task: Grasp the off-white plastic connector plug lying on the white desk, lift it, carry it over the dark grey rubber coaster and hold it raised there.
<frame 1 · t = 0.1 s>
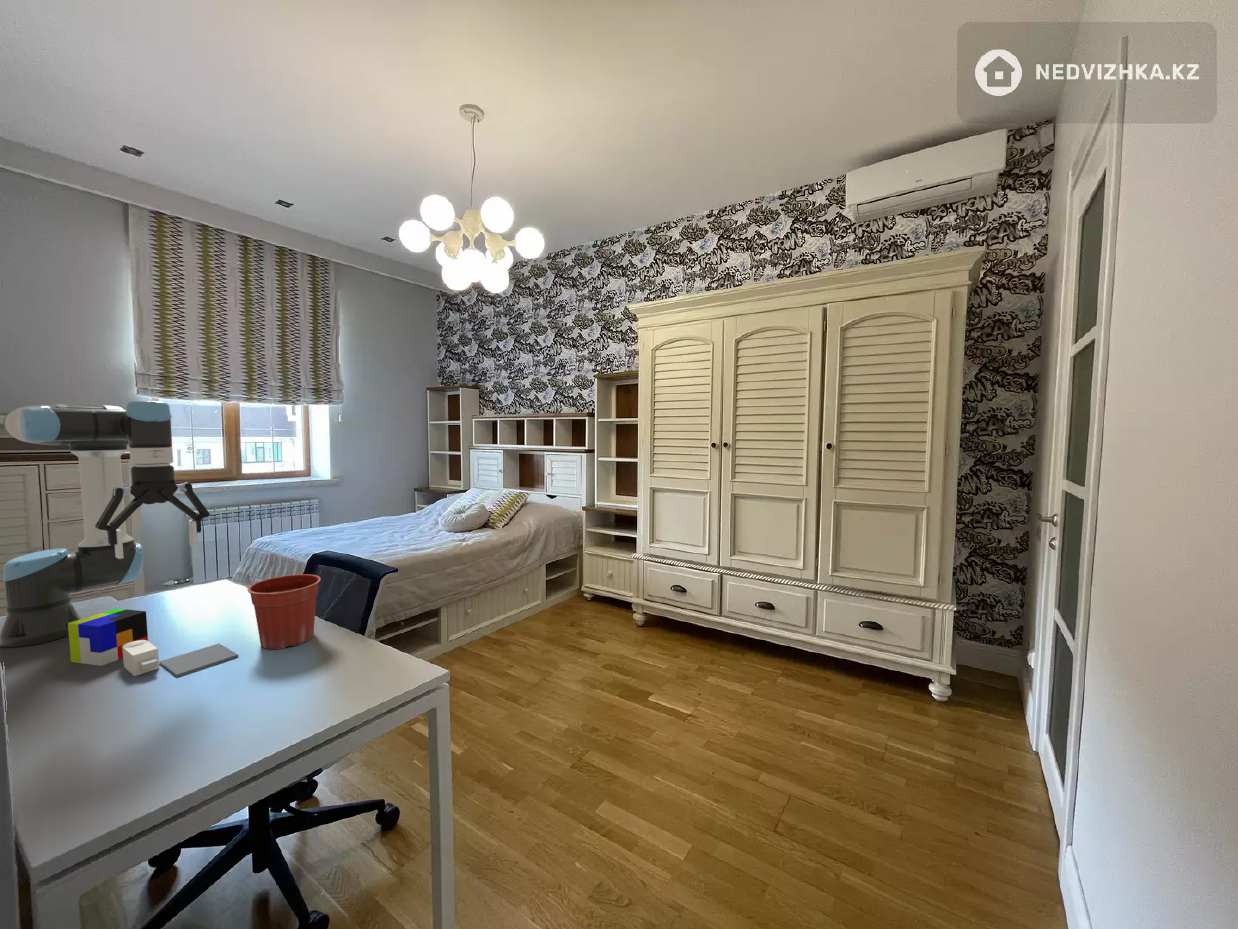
hand: (158, 551, 119), 28 cm above the table, fingers open, 13 cm apart
coaster: (199, 660, 122), on the table
flower pot: (288, 641, 134), on the table
connector: (141, 667, 118), on the table
puzzle toy: (111, 655, 125), on the table
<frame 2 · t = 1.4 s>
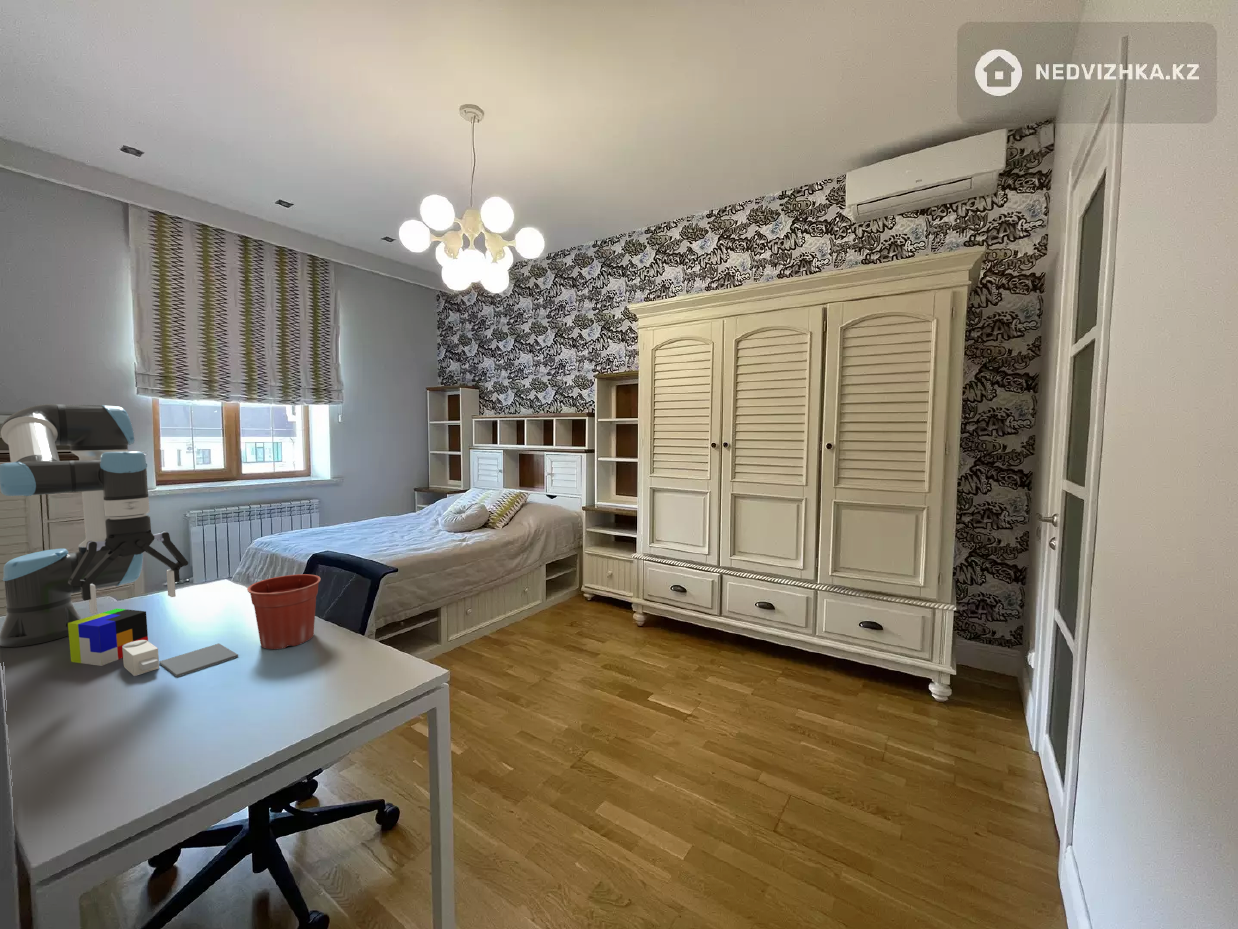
hand: (134, 604, 117), 16 cm above the table, fingers open, 13 cm apart
nothing on the table moved.
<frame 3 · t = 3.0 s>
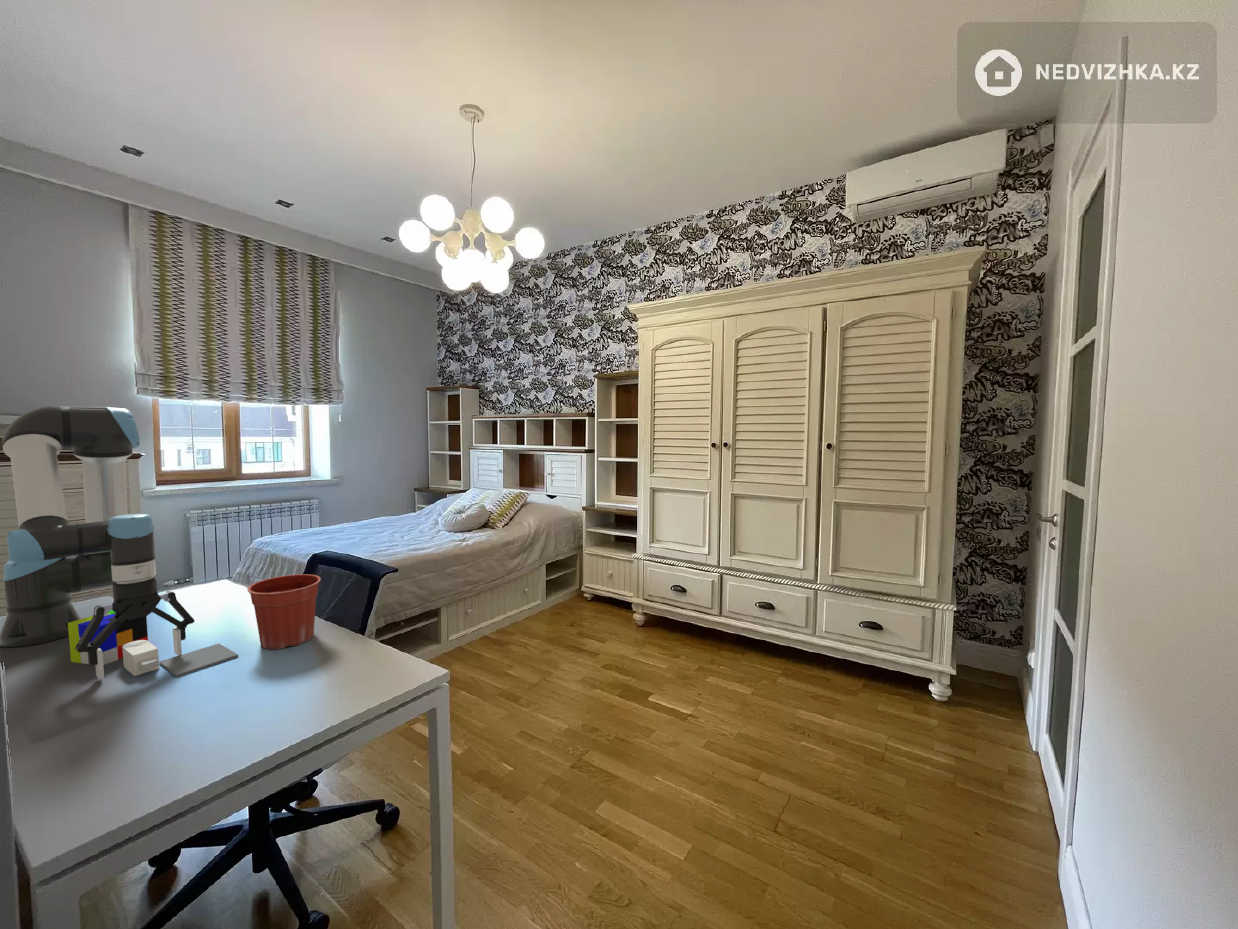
hand: (141, 665, 118), 1 cm above the table, fingers open, 13 cm apart
nothing on the table moved.
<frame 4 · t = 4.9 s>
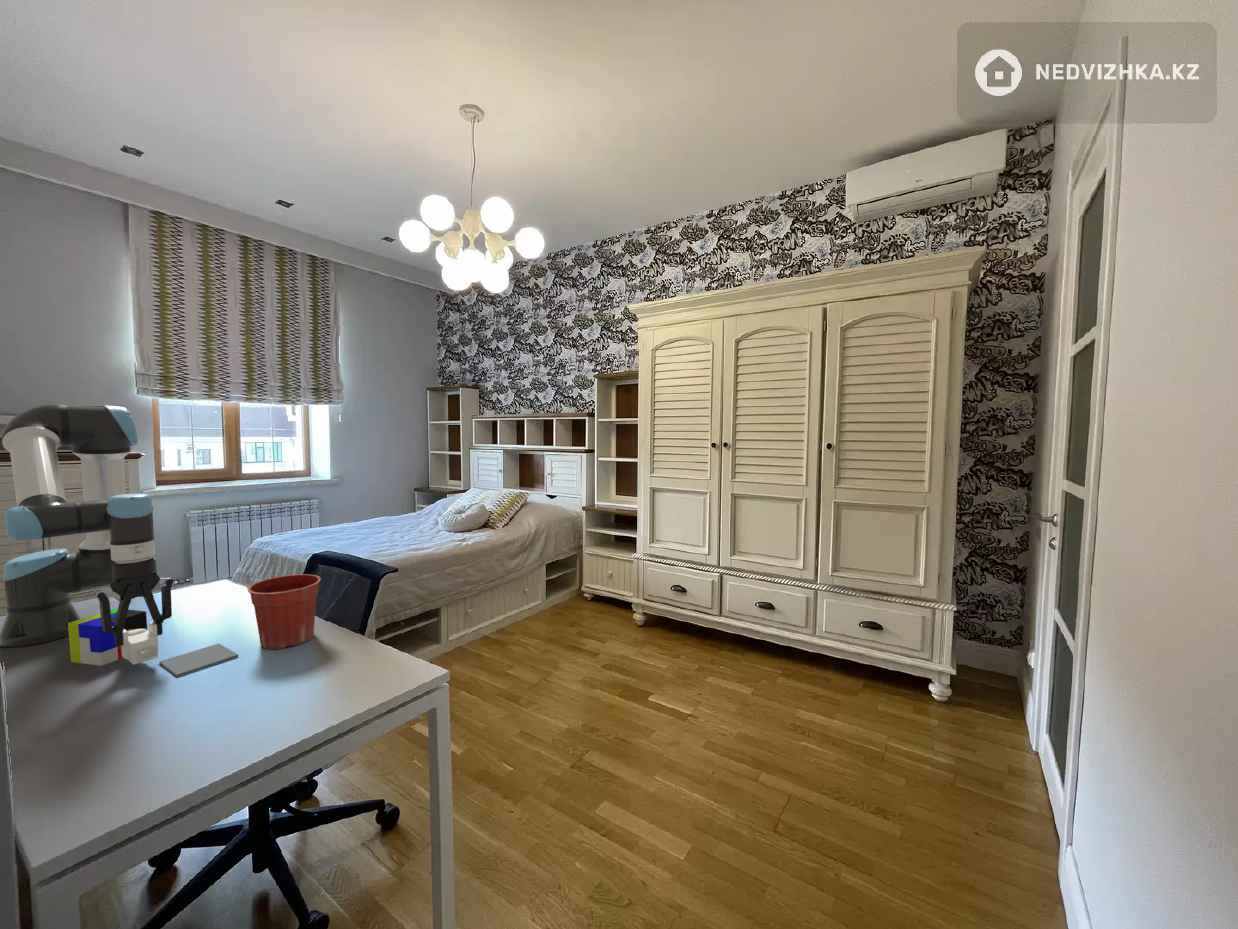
hand: (140, 652, 118), 4 cm above the table, fingers closed on connector, 4 cm apart
connector: (140, 656, 118), point 3 cm above the table, touching gripper
everything else where it was.
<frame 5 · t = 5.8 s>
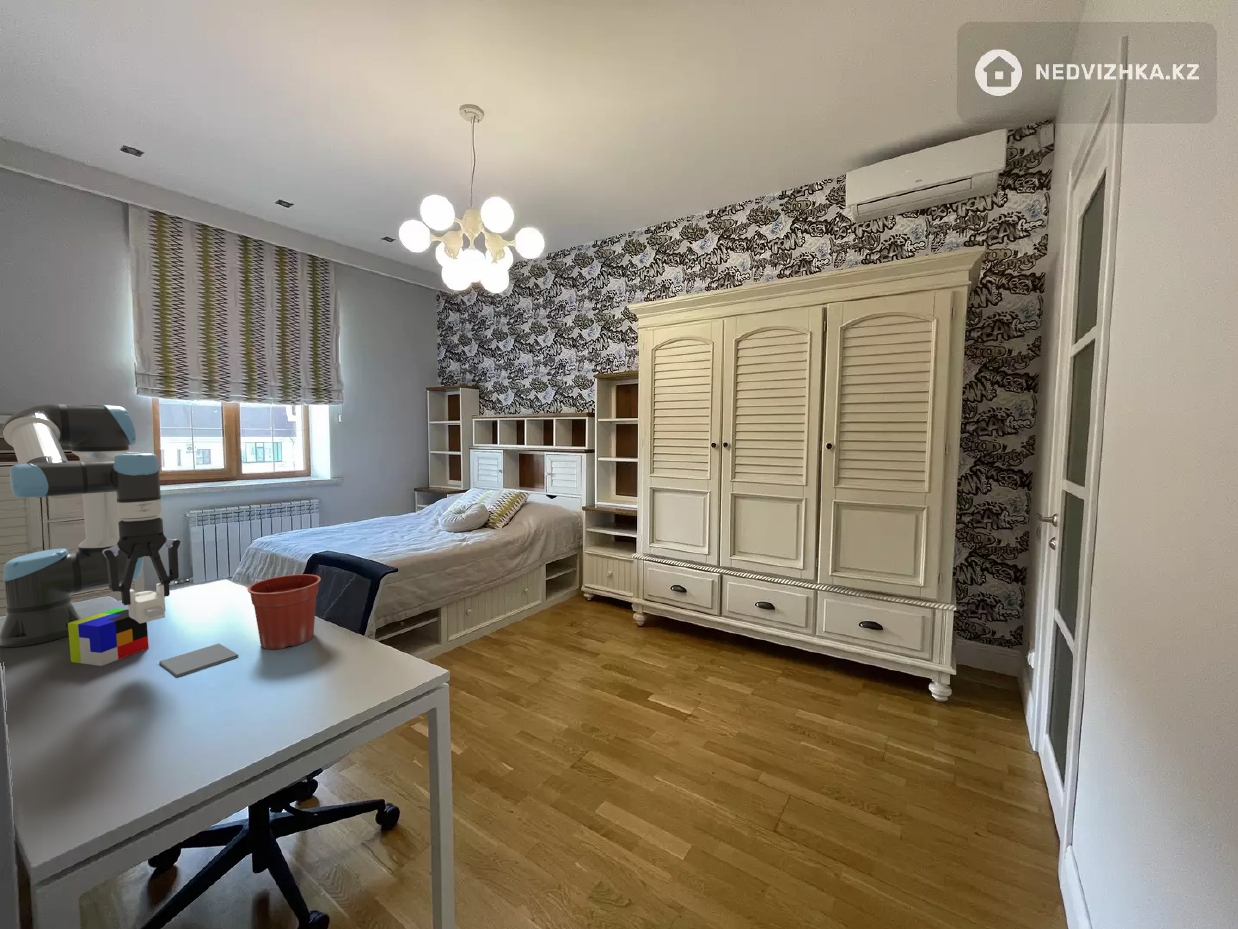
hand: (147, 613, 117), 13 cm above the table, fingers closed on connector, 4 cm apart
connector: (147, 617, 117), point 12 cm above the table, touching gripper
everything else where it was.
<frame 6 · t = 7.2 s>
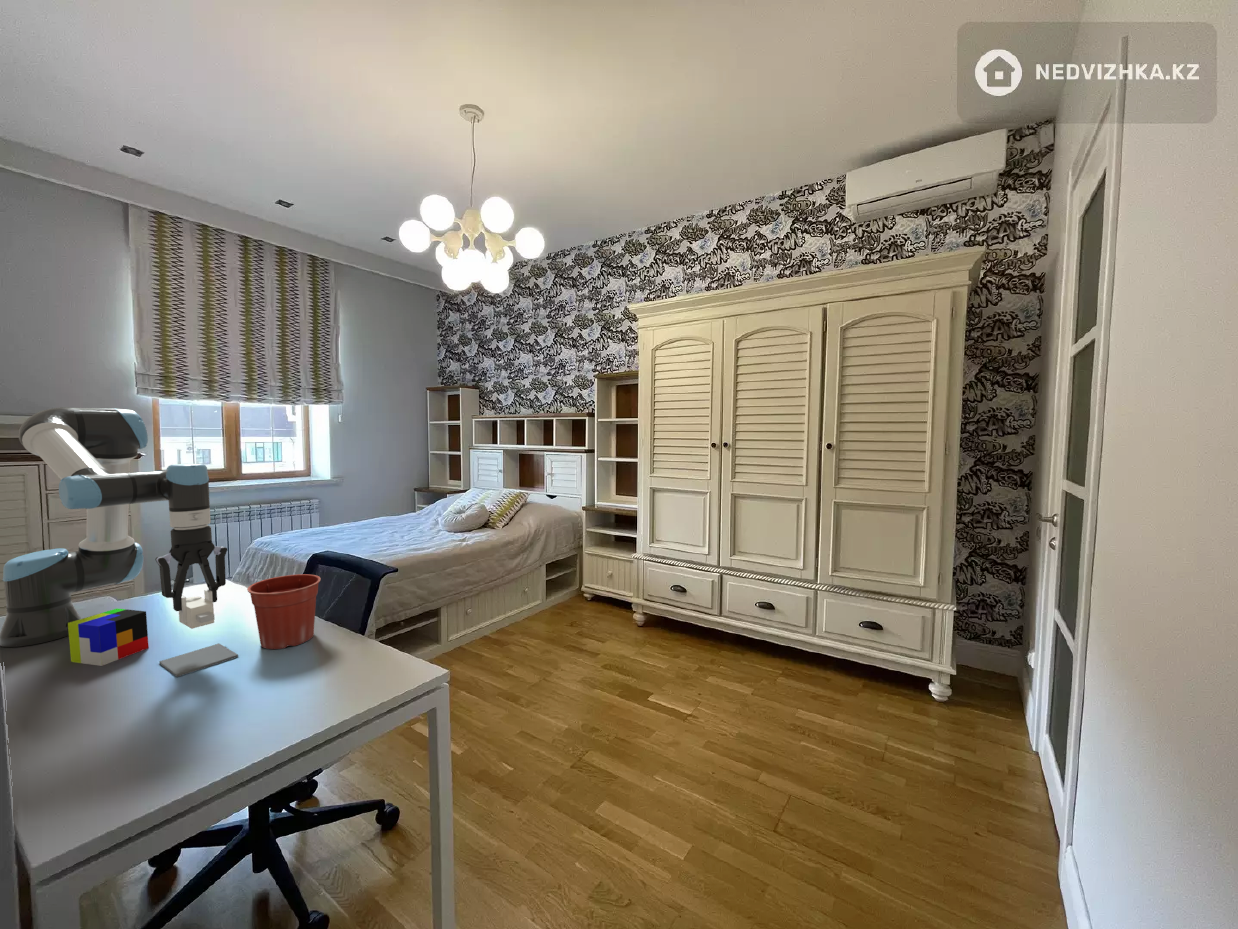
hand: (196, 618, 121), 11 cm above the table, fingers closed on connector, 4 cm apart
connector: (197, 622, 121), point 10 cm above the table, touching gripper
everything else where it was.
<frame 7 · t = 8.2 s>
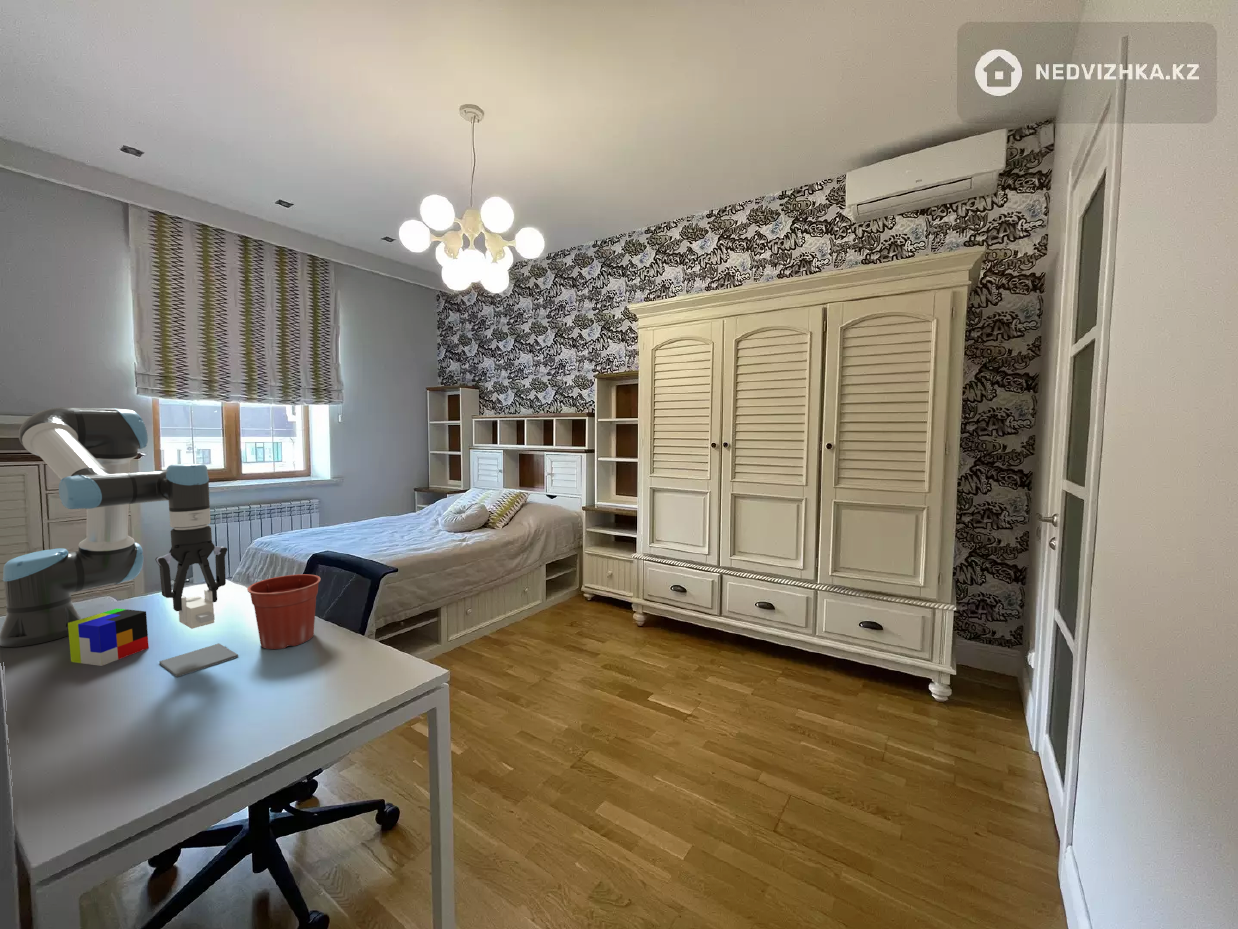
hand: (196, 618, 121), 11 cm above the table, fingers closed on connector, 4 cm apart
connector: (197, 622, 121), point 10 cm above the table, touching gripper
everything else where it was.
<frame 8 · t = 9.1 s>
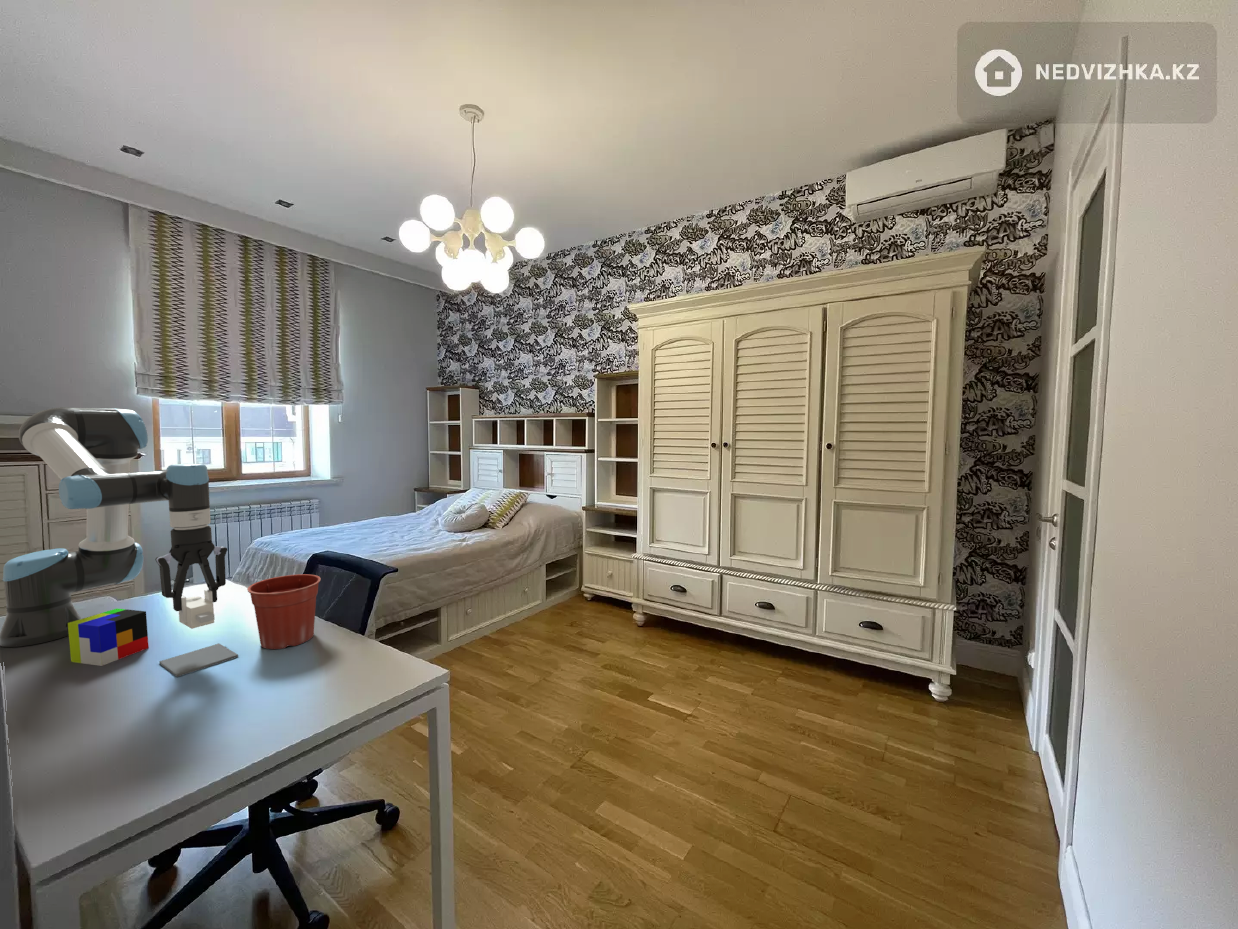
hand: (196, 618, 121), 11 cm above the table, fingers closed on connector, 4 cm apart
connector: (197, 622, 121), point 10 cm above the table, touching gripper
everything else where it was.
at the end: the gripper is holding connector; connector point 9.8 cm above the table; connector inside the target area on the coaster (0.0 cm from its centre), point 9.8 cm above the coaster's base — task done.
